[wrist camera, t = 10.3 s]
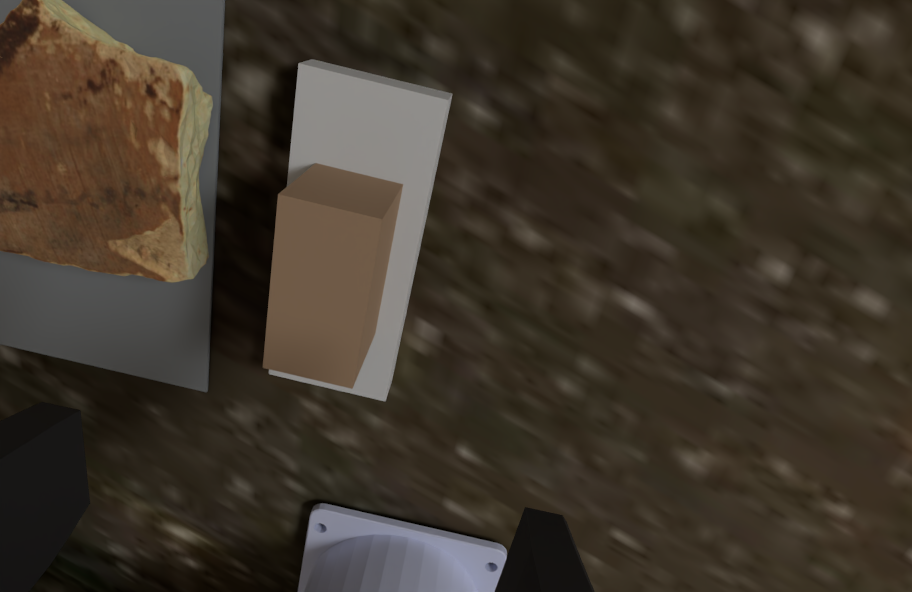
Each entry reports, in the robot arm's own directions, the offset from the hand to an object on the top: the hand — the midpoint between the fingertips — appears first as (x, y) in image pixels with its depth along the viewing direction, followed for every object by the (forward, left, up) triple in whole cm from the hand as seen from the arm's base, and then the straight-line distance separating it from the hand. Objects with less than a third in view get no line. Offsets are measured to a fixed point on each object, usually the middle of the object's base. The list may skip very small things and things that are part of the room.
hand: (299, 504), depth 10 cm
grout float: (0, +1, -11) cm, 11 cm away
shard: (0, +10, -11) cm, 15 cm away
